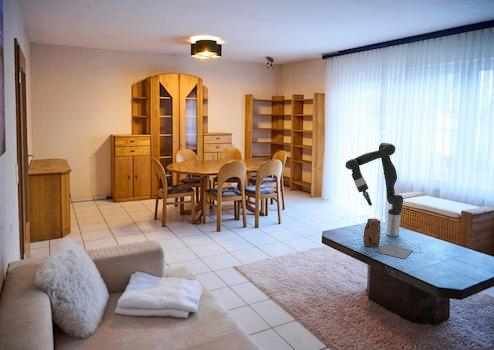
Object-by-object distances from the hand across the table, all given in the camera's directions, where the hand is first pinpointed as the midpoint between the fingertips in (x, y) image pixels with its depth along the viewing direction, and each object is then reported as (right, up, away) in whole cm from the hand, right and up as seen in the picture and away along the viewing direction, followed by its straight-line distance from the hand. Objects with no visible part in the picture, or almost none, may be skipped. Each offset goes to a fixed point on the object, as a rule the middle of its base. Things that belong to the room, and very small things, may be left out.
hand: (370, 204), depth 297 cm
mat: (+13, -32, -11) cm, 36 cm away
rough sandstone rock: (0, -30, -1) cm, 30 cm away
